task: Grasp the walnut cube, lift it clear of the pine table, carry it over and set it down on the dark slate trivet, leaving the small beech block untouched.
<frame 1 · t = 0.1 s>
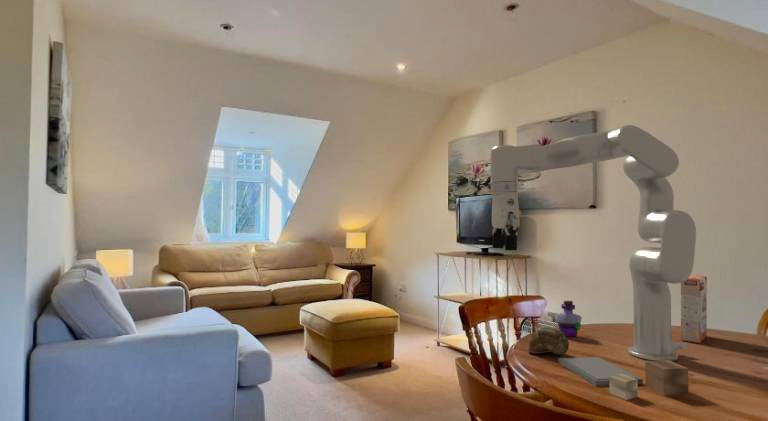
hand: (504, 249, 128), 31 cm above the table, fingers open, 9 cm apart
potion bottle: (568, 336, 154), on the table
slate trivet: (597, 372, 116), on the table
cracker box: (694, 339, 151), on the table
grey-brown rock: (548, 355, 132), on the table
beech block: (623, 395, 101), on the table
walnut cube: (666, 390, 104), on the table
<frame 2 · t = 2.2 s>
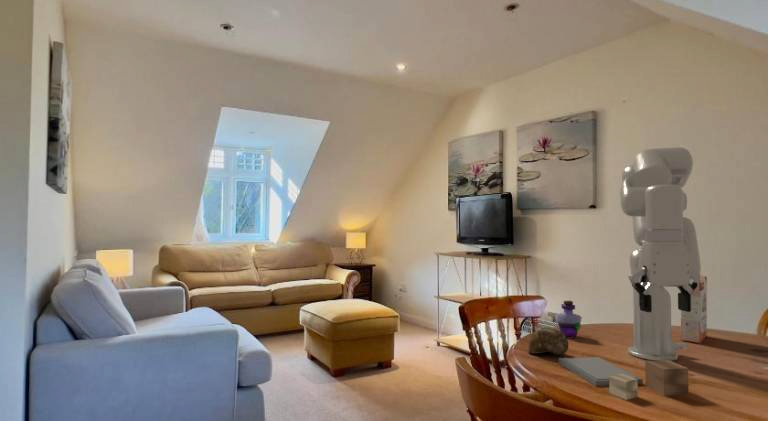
hand: (665, 311, 104), 18 cm above the table, fingers open, 9 cm apart
nothing on the table moved.
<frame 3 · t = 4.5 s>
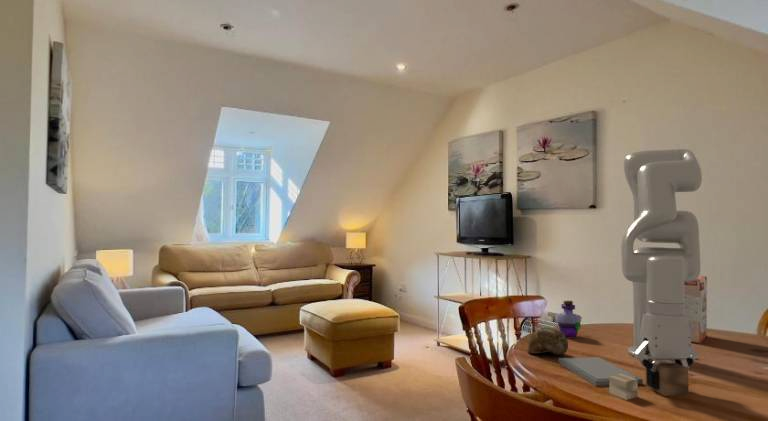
hand: (666, 386, 104), 1 cm above the table, fingers closed on walnut cube, 6 cm apart
walnut cube: (666, 390, 104), on the table, touching gripper
everything else where it was.
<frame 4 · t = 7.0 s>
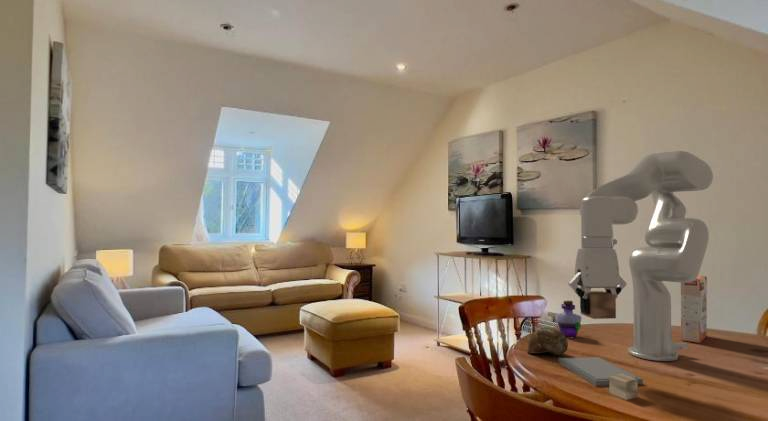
hand: (597, 312, 116), 15 cm above the table, fingers closed on walnut cube, 6 cm apart
walnut cube: (597, 316, 116), point 15 cm above the table, touching gripper
everything else where it was.
when the fingers open (4 cm above the table, at t = 9.7 s): walnut cube drops 1 cm, resting on slate trivet.
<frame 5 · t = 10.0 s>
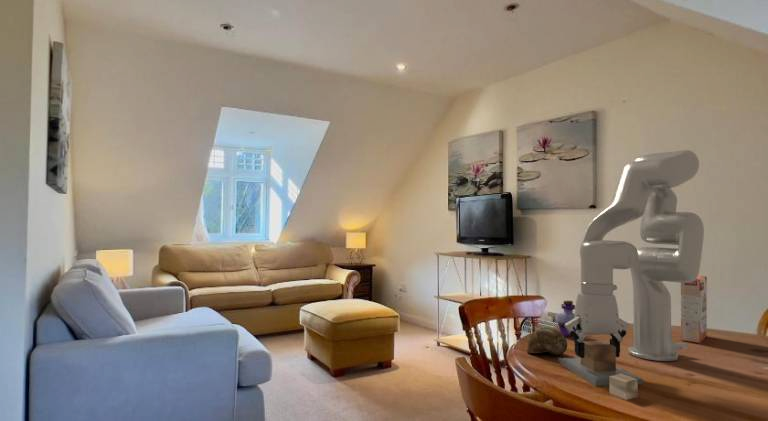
hand: (597, 356, 116), 4 cm above the table, fingers open, 9 cm apart
walnut cube: (597, 367, 116), point 1 cm above the table, touching slate trivet
everything else where it was.
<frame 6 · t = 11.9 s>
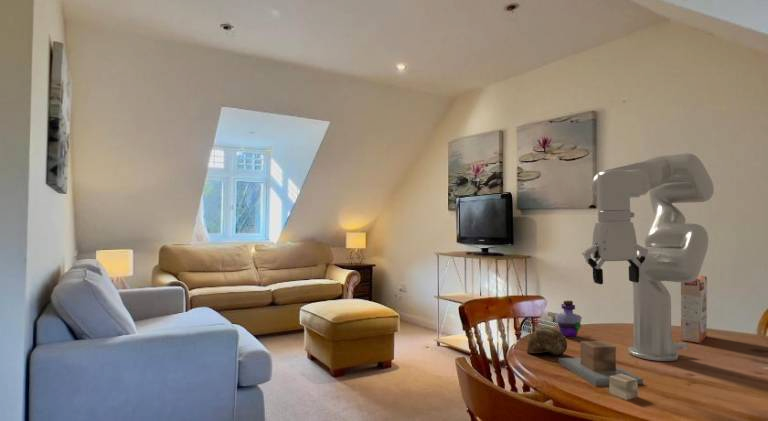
hand: (616, 282, 117), 23 cm above the table, fingers open, 9 cm apart
nothing on the table moved.
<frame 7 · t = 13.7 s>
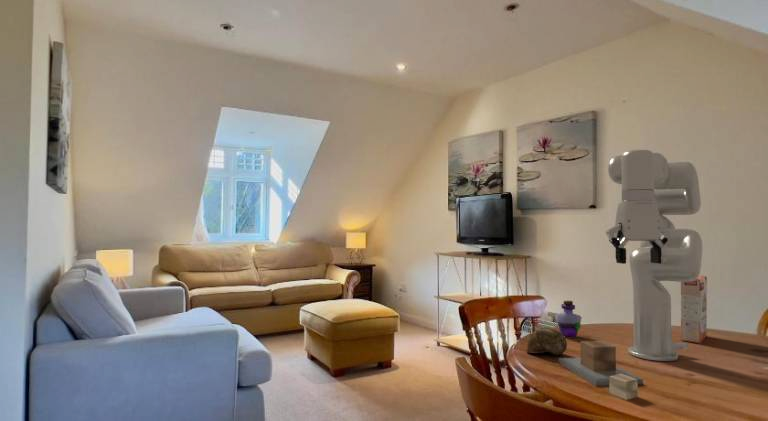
hand: (638, 263, 117), 28 cm above the table, fingers open, 9 cm apart
nothing on the table moved.
at the end: walnut cube 0.1 cm from the slate trivet (horizontally); walnut cube touching slate trivet; the gripper is holding nothing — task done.
